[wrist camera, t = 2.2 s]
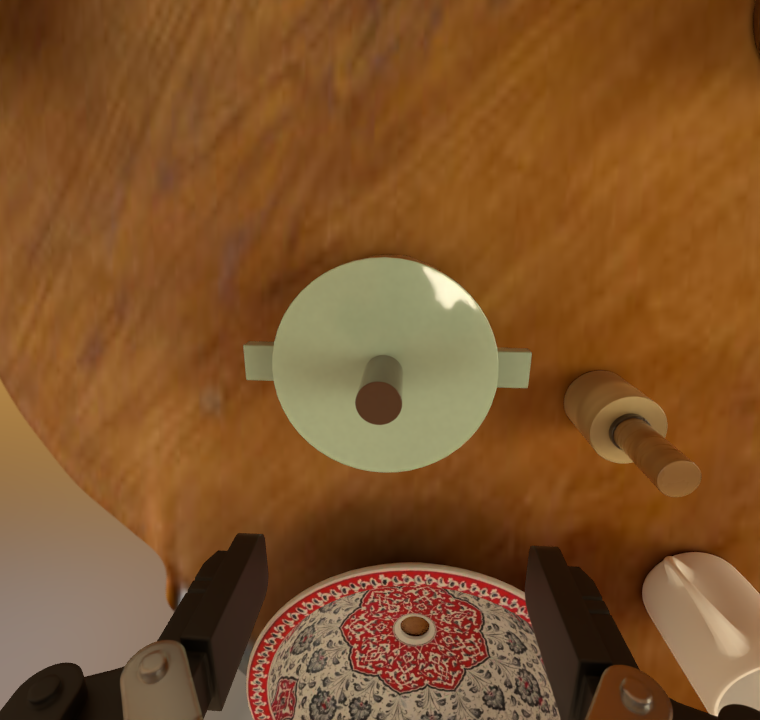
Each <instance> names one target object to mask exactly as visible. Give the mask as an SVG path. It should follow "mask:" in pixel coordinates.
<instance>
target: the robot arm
mask: <svg viewBox="0 0 760 720" xmlns="http://www.w3.org/2000/svg"><path fill="white" fill-rule="evenodd" d="M753 28H754V37H755V42H756V45H757V49H758V51H759V54H760V0H756V2H755V8H754V17H753ZM267 586H268V566H267V556H266V546H265V538H264V535H263V534H246V533H238V534H237V535H236V537H235V539H234V540H233V542H232V544H231V546H230V548H229V549H228V551H217V552H216V553H215V554H214V555H213V556H212V557H210V558H209V559H208V560H207V561H206V562H205V563H204V564H203V566H202V567H201V569H200V571H199V572H198V574H197V576H196V577H195V581H193V582H192V584H191V586H190V587H189V589H188V593H186V594H185V596H184V597H183V599H182V601H181V602H180V604H179V606H178V607H177V609H176V611H175V612H174V614H173V616H172V617H171V619H170V621H169V622H168V625H167V626H166V627H165V629H164V631H163V633H162V634H161V636H160V637H159V639H158V640H157V642H154V643H151V644H149V645H147V646H146V647H144V648H142V649H141V650H139V651H138V652H137V653H136V654H135V655H134V656H133V657H132V658H131V659H130V660H129V661H128V662H127V664H126V665H125V666H124V667H122V668H118V669H115V670H111V671H107V672H103V673H99V674H95V675H91V676H87V677H84V675H83V672H82V670H81V668H80V667H79V666H78V665H76V664H73V663H60V664H55V665H52V666H50V667H47V668H45V669H43V670H42V671H39V672H38V673H36V674H35V675H33V676H32V677H30V678H29V679H28V680H27V681H26V682H24V683H23V684H22V685H21V686H20V687H19V688H18V689H17V690H16V692H15V693H14V694H13V695H12V697H11V698H10V699H9V701H8V702H7V703H6V704H5V706H4V707H3V708H2V709H1V711H0V720H203V719H204V716H205V714H206V712H207V710H212V711H222V709H223V706H224V703H225V701H226V698H227V695H228V693H229V690H230V688H231V685H232V682H233V680H234V677H235V674H236V672H237V669H238V667H239V664H240V661H241V659H242V656H243V653H244V651H245V648H246V646H247V643H248V640H249V638H250V635H251V632H252V630H253V627H254V625H255V622H256V619H257V617H258V614H259V612H260V609H261V606H262V604H263V601H264V598H265V595H266V592H267ZM525 601H526V607H527V611H528V615H529V618H530V621H531V624H532V627H533V631H534V634H535V637H536V640H537V644H538V647H539V650H540V653H541V657H542V660H543V663H544V666H545V670H546V673H547V676H548V679H549V683H550V686H551V689H552V692H553V696H554V699H555V702H556V705H557V708H558V712H559V715H560V718H561V720H760V711H758V710H756V709H754V708H752V707H748V706H745V705H740V704H729V705H726V706H724V707H723V708H722V709H721V710H720V712H719V714H718V717H717V716H714V715H711V714H709V713H706V712H703V711H700V710H697V709H694V708H692V707H689V706H686V705H683V704H681V703H678V702H676V701H674V700H672V699H671V698H669V697H668V695H667V694H666V692H665V691H664V690H663V688H662V687H661V686H660V685H659V684H658V683H657V682H656V681H655V680H654V679H653V678H651V677H650V676H649V675H647V674H646V673H644V672H642V671H640V669H639V668H638V666H637V664H636V662H635V660H634V658H633V656H632V654H631V652H630V651H629V649H628V647H627V645H626V643H625V641H624V639H623V637H622V635H621V633H620V631H619V629H618V627H617V625H616V624H615V622H614V620H613V618H612V616H611V615H610V614H609V610H608V608H607V606H606V604H605V602H604V601H602V597H601V595H600V593H599V591H598V589H597V587H596V585H595V583H594V581H593V580H592V579H591V578H590V577H589V576H588V575H587V574H586V573H585V572H584V571H583V570H582V569H581V568H580V567H572V566H567V564H566V562H565V559H564V557H563V555H562V553H561V551H560V549H559V548H558V547H550V546H531V547H530V550H529V557H528V566H527V574H526V582H525Z"/></svg>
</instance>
